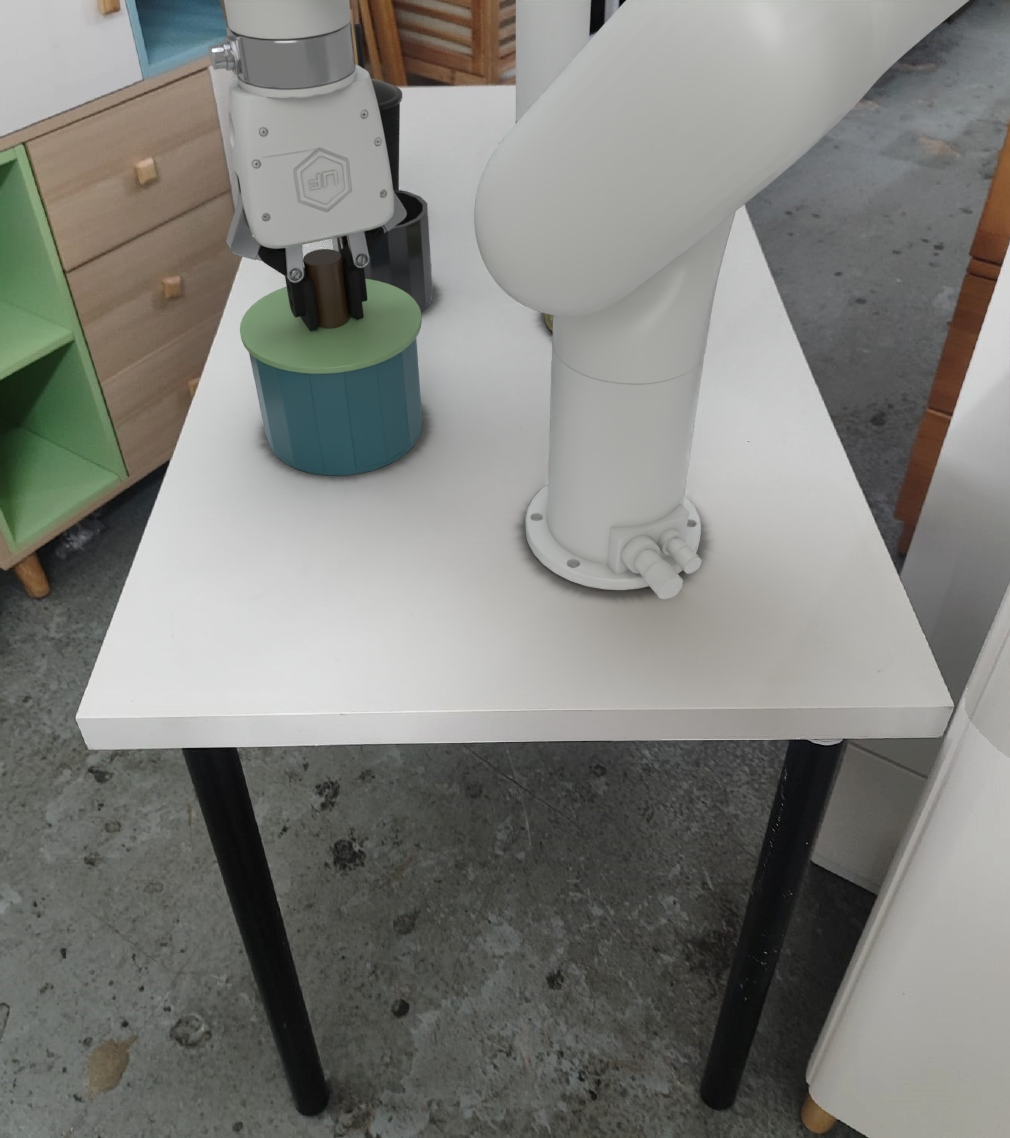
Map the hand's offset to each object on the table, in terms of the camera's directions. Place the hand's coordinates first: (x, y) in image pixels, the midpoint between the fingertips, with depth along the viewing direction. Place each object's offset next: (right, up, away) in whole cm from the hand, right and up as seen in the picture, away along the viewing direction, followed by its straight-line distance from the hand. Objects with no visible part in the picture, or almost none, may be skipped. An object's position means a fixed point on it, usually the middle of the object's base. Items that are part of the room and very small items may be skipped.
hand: (330, 314), depth 77 cm
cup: (+2, +7, +23) cm, 24 cm away
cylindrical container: (+18, +19, +35) cm, 44 cm away
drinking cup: (-1, +19, +35) cm, 40 cm away
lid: (0, -1, +1) cm, 1 cm away
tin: (0, -8, +7) cm, 10 cm away
